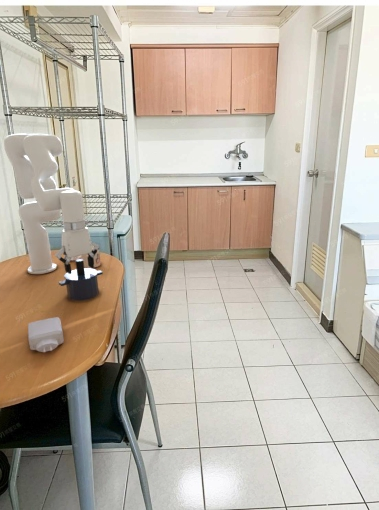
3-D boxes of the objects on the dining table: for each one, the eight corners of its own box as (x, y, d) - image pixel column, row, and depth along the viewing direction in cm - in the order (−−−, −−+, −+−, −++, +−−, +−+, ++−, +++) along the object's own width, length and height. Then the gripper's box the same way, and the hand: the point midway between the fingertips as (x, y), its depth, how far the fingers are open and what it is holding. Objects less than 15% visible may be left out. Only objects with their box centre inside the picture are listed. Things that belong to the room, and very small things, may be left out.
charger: (31, 363, 94) (30, 336, 107) (66, 354, 98) (61, 329, 110) (28, 348, 92) (27, 322, 105) (64, 339, 96) (59, 316, 109)
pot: (56, 297, 133) (53, 276, 130) (96, 284, 144) (94, 265, 141) (69, 307, 125) (66, 285, 122) (110, 293, 136) (108, 273, 133)
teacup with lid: (100, 267, 163) (98, 244, 159) (80, 269, 161) (77, 245, 157) (102, 259, 174) (99, 237, 170) (83, 261, 172) (80, 238, 169)
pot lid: (59, 276, 132) (56, 260, 130) (88, 268, 140) (86, 253, 138) (73, 285, 124) (70, 268, 121) (103, 276, 131) (102, 260, 129)
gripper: (91, 219, 134) (96, 262, 139) (46, 227, 123) (53, 273, 128) (101, 222, 128) (105, 266, 134) (55, 231, 117) (62, 279, 123)
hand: (80, 269), depth 131 cm, fingers open, 8 cm apart
